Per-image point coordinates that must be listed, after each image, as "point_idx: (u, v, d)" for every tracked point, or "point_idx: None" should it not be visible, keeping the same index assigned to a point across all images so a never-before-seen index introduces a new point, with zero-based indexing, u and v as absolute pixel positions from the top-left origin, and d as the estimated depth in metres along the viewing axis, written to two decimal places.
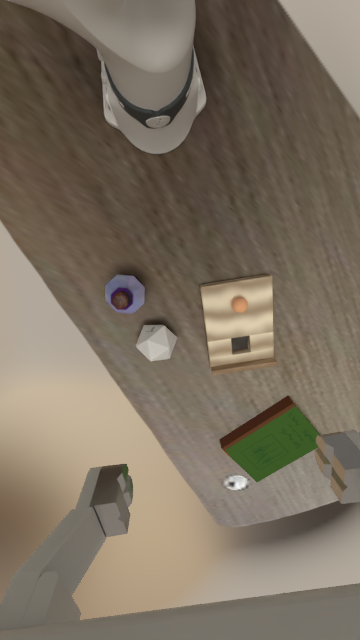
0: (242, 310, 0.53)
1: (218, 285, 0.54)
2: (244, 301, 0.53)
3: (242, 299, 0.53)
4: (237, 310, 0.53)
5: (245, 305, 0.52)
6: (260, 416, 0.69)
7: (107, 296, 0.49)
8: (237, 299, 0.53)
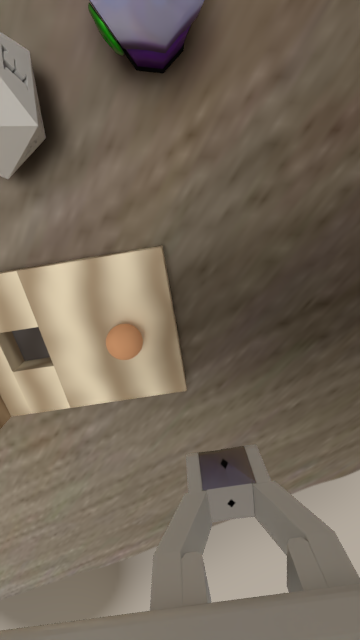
0: (113, 351, 0.22)
1: (166, 289, 0.23)
2: (135, 352, 0.23)
3: (139, 347, 0.23)
4: (111, 339, 0.22)
5: (126, 357, 0.22)
6: None
7: None
8: (138, 336, 0.23)
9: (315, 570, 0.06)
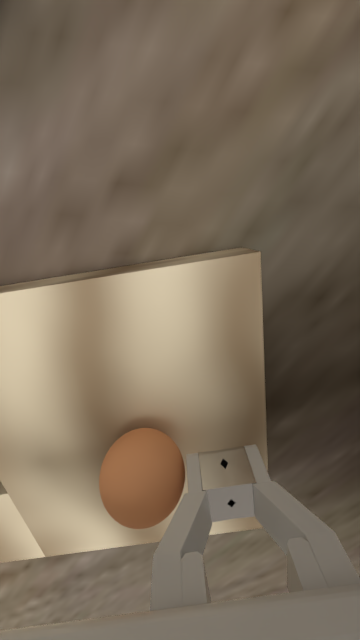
0: (105, 506, 0.09)
1: (258, 348, 0.10)
2: None
3: (168, 512, 0.09)
4: (104, 482, 0.09)
5: (134, 528, 0.09)
6: None
7: None
8: (169, 486, 0.09)
9: (315, 570, 0.06)
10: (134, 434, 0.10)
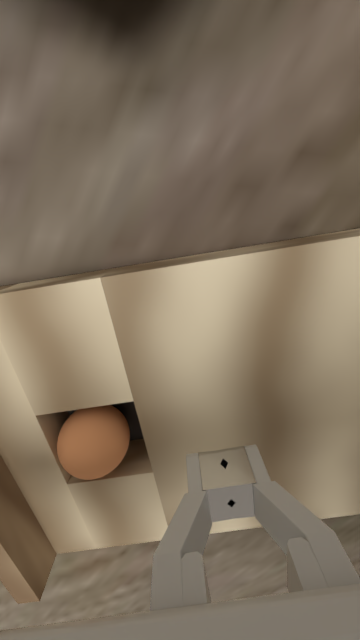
0: None
1: None
2: (97, 476, 0.11)
3: (106, 468, 0.11)
4: (59, 440, 0.11)
5: None
6: None
7: None
8: (107, 447, 0.11)
9: (315, 570, 0.06)
10: None
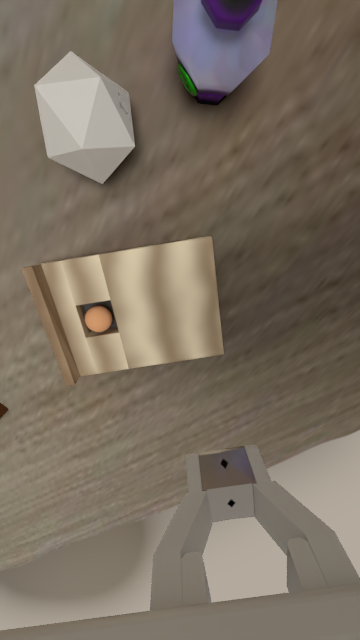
0: (86, 324, 0.31)
1: (213, 269, 0.30)
2: (101, 327, 0.31)
3: (105, 324, 0.31)
4: (86, 316, 0.31)
5: (95, 329, 0.31)
6: None
7: None
8: (104, 316, 0.31)
9: (315, 570, 0.06)
10: (95, 306, 0.32)
